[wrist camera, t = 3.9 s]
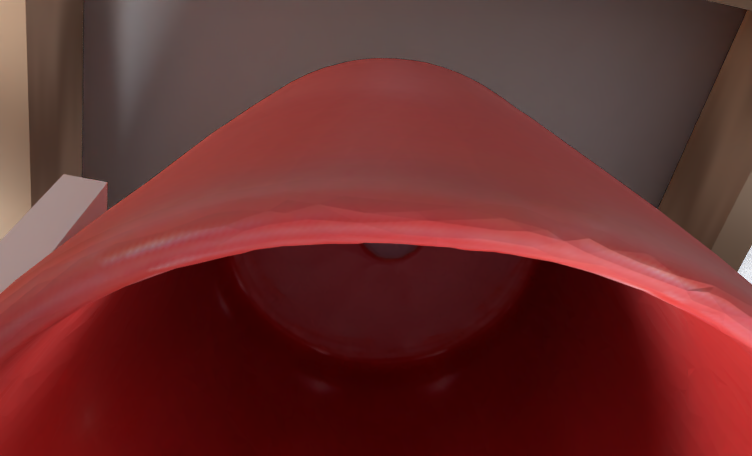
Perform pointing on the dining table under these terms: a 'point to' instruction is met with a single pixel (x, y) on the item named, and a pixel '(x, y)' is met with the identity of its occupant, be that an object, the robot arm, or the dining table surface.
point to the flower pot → (379, 295)
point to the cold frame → (65, 105)
